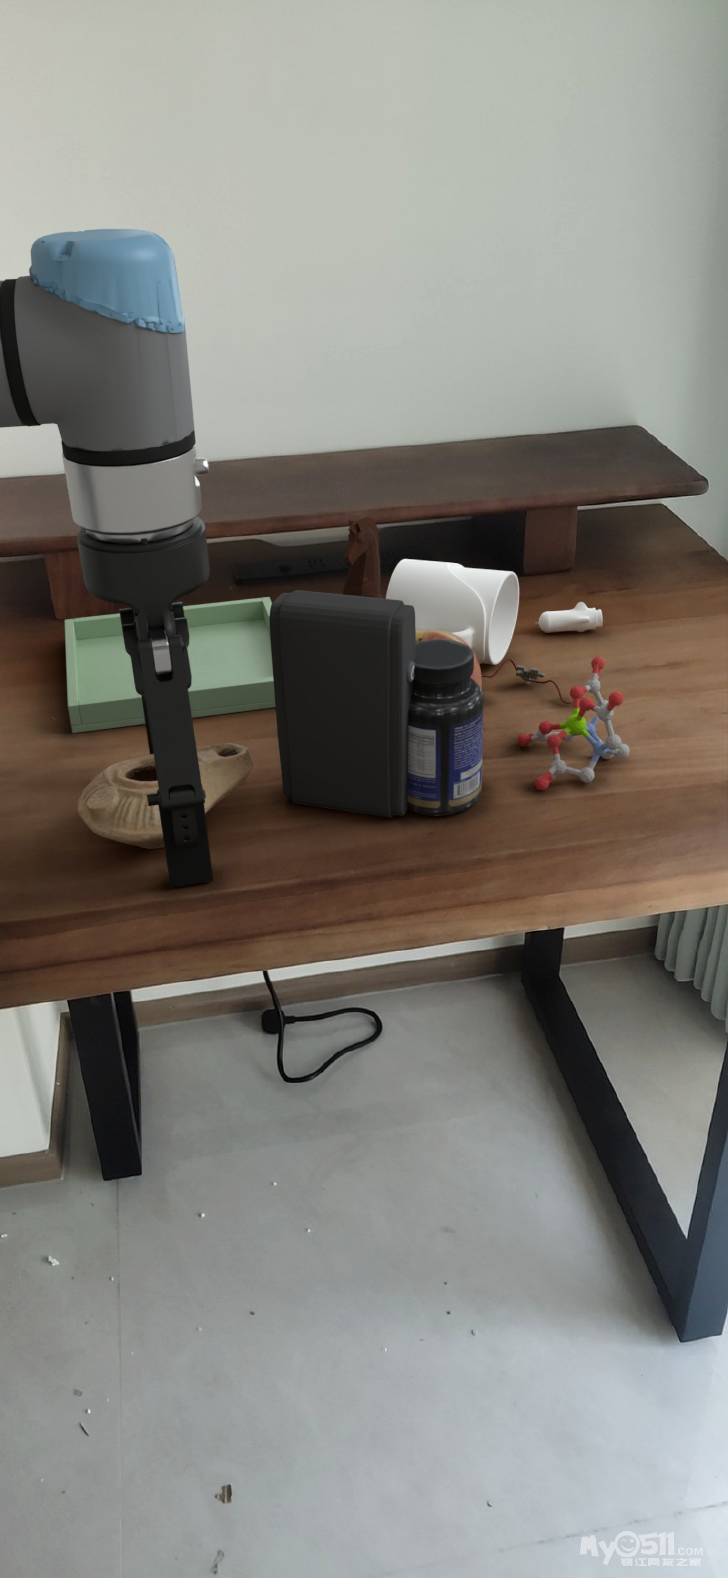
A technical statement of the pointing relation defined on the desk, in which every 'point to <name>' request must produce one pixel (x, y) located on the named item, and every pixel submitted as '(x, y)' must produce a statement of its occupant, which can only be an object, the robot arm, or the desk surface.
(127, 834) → the pottery oil lamp
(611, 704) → the molecular model
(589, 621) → the small white plastic part
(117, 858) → the desk surface
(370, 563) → the chess piece
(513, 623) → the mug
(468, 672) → the pill bottle
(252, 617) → the tray
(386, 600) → the dark grey rectangular block
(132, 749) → the desk surface
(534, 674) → the pendant
